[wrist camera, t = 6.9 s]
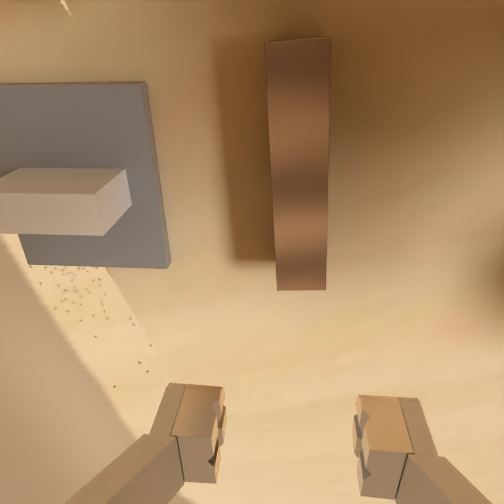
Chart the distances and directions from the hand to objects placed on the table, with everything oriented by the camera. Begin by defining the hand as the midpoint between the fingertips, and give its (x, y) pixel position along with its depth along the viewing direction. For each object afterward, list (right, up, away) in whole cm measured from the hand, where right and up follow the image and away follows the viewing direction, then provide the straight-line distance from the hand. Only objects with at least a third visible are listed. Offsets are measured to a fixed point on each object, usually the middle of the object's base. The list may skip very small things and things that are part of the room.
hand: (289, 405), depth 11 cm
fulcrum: (-14, +10, +20) cm, 26 cm away
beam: (+2, +11, +18) cm, 21 cm away
